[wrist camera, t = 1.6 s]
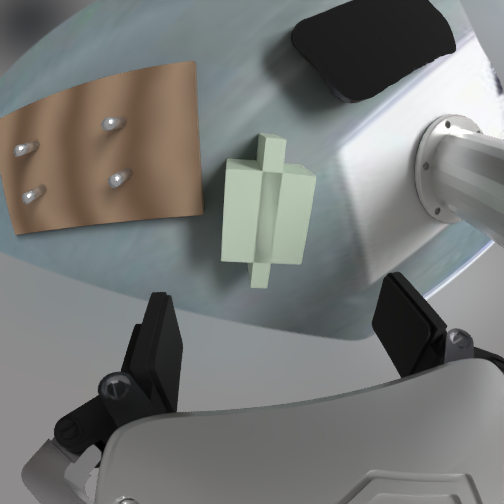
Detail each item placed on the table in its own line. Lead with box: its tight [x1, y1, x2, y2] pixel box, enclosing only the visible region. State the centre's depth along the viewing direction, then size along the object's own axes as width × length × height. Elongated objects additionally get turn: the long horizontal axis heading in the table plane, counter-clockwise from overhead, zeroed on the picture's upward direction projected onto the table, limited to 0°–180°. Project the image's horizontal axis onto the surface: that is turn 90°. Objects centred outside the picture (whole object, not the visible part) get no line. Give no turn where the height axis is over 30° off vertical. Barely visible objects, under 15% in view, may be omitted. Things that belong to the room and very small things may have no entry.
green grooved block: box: [221, 133, 316, 288], centre depth 23 cm, size 12×6×5 cm, turn 175°
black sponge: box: [291, 0, 456, 103], centre depth 16 cm, size 16×8×4 cm, turn 127°
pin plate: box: [0, 61, 205, 235], centre depth 19 cm, size 22×13×4 cm, turn 92°
